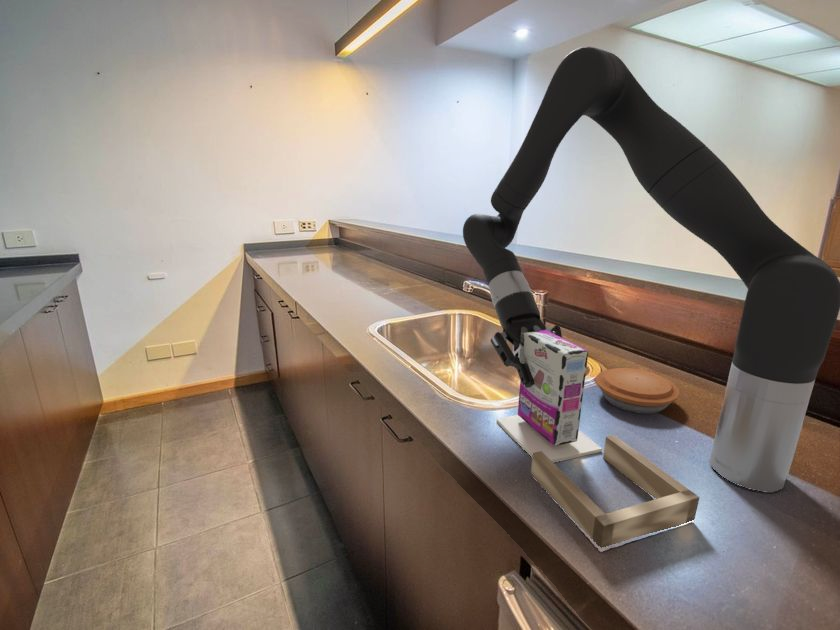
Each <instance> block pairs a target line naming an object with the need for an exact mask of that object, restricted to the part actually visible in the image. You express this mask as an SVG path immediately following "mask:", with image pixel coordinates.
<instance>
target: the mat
mask: <svg viewBox="0 0 840 630" xmlns="http://www.w3.org/2000/svg"><path fill="white" fill-rule="evenodd" d="M496 423H497V424H498V425H499V426H500V427H501V428H502V429H503V430H504V431H505V432H506V434H508V435H509V436H510V437H511V438H512V440H513V441H514V442H515V443H516V442H517V443H518V444H519V445H520V446H521V447H522V448H521V447H520V448H521V449H522V450H523V449H524V450H525V451H526V452H527V453H528V454H529V455H530V456H531V457H532V456H533V453H535V452H539V451H542V452H543V453H544V454H545V455H546V456H547V457H548V458H549V459H550V460H551V461H552V462H553V463H554V464H555V462H556V463H559V461H560V462H563V461H569V460H573V459H575V458H581V457H584V456H588V455H592V454H597V453H601V452H603V451H602V450H603V448H602V447H601V446H600V445H599V444H597V443H595V442H594V441H593V440H592V439H591V438H590V437H588V436H587V435H585V433H583V431H581V430H580V429H579V430H578V439H577V441H575V442H572V443H568V444H563V445H559V446H554V445H552V444H551V443H550V442H549V441H548V440H547V439H546V438H544V437H543V436H542V435H541V434H540V433H538V432H537V431H536V430H535V429H534V428H533V427H531V426H530V425H529V424H528V423H527V422H525V421H524V420H523V419H522V418H521V417H520V416H519V415H518V414H515V415H509V416H504V417H499V418H496ZM517 443H516V444H517ZM518 444H517V445H518ZM519 445H518V446H519ZM524 450H523V451H524ZM525 451H524V452H525ZM526 452H525V453H526ZM527 453H526V454H527ZM528 454H527V455H528ZM529 455H528V456H529ZM530 456H529V457H530ZM531 457H530V458H531Z"/></svg>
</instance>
